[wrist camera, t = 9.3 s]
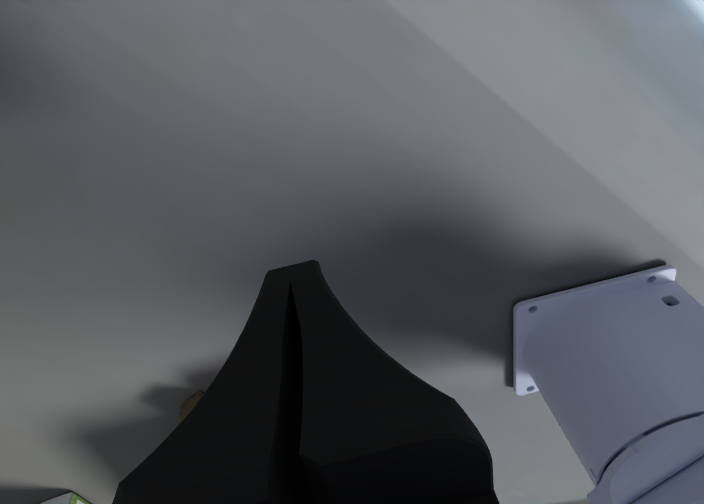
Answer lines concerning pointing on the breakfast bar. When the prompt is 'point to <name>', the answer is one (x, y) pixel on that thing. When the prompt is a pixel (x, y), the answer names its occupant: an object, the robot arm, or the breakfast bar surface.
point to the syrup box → (66, 499)
